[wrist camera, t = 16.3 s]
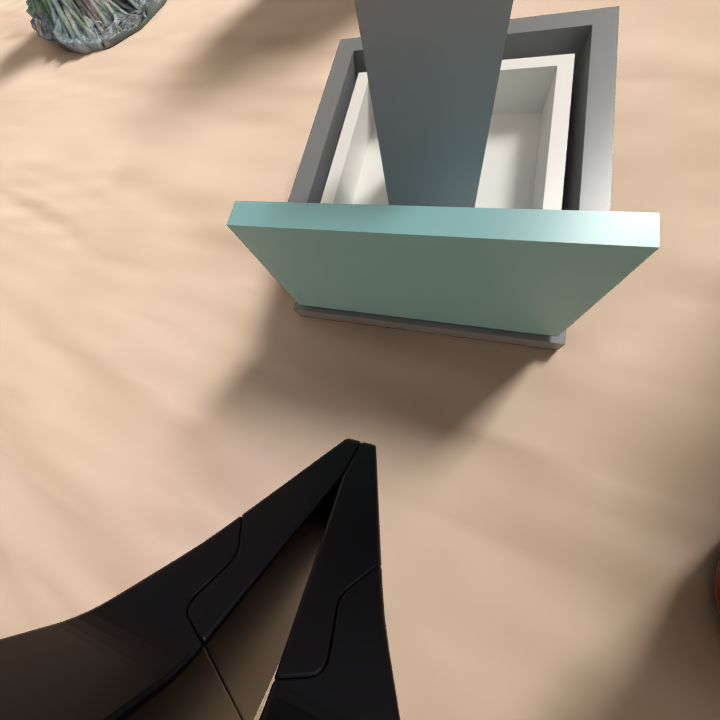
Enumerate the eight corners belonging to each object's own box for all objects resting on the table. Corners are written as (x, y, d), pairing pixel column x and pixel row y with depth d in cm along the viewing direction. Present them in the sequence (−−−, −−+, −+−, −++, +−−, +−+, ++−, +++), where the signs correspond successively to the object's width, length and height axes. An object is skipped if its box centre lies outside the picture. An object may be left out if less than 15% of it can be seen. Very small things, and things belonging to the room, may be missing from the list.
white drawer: (556, 337, 16) (659, 247, 9) (299, 305, 20) (226, 225, 13) (575, 113, 20) (660, -82, 12) (351, 123, 24) (317, -21, 16)
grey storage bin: (557, 349, 17) (605, 312, 13) (299, 315, 21) (263, 278, 17) (577, 103, 21) (619, 6, 17) (356, 115, 25) (340, 39, 21)
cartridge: (482, 153, 19) (556, -259, 8) (469, 236, 18) (535, -120, 7) (410, 155, 21) (388, -204, 9) (393, 232, 19) (342, -77, 8)
